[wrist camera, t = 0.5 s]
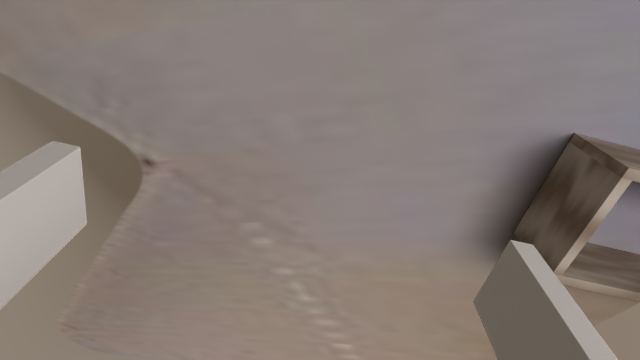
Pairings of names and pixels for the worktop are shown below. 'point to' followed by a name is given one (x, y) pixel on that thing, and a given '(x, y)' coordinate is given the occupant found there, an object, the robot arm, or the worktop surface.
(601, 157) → the box
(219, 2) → the worktop surface
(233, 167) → the worktop surface
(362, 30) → the worktop surface
